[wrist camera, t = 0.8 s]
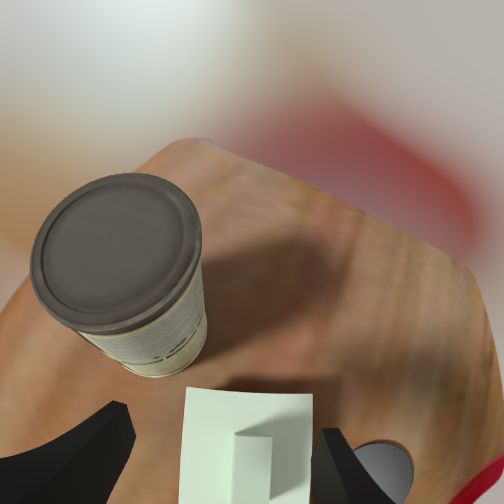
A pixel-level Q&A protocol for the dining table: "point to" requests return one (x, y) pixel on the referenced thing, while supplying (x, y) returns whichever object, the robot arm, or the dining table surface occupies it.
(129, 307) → the coffee can
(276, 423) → the lid
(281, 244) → the dining table surface
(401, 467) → the stone
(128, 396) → the dining table surface
